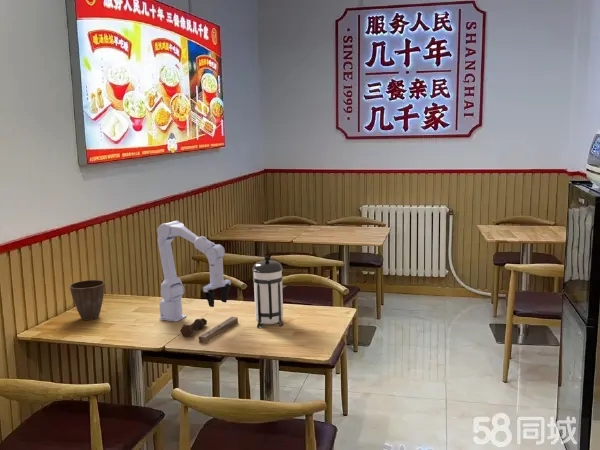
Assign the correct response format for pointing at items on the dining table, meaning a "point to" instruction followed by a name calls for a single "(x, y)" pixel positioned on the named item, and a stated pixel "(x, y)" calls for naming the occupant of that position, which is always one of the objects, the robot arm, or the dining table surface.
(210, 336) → the batten
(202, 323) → the bolt
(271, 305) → the coffee press
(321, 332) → the dining table surface
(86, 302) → the plant pot
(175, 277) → the robot arm
